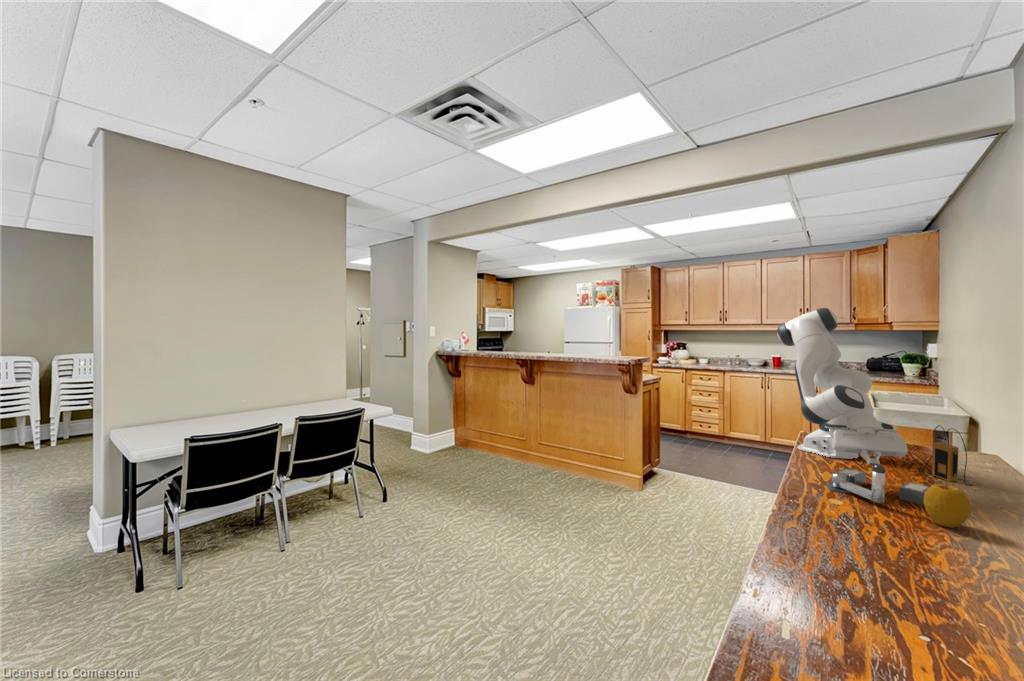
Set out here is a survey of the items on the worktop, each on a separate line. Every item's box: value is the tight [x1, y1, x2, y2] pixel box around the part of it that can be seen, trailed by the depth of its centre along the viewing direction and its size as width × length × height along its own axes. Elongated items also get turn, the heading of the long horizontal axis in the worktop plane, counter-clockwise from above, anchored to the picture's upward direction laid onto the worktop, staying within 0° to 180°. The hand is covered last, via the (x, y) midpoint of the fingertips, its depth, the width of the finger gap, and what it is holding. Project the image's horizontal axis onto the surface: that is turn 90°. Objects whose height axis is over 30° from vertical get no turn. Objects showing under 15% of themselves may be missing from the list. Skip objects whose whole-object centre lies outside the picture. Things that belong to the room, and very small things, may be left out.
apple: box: [923, 483, 973, 529], centre depth 124 cm, size 10×10×12 cm
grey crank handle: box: [831, 464, 887, 504], centre depth 144 cm, size 18×4×12 cm, turn 8°
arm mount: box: [825, 482, 853, 495], centre depth 151 cm, size 6×6×1 cm
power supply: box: [898, 481, 932, 506], centre depth 143 cm, size 6×10×4 cm, turn 123°
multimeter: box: [923, 424, 975, 487], centre depth 162 cm, size 15×10×20 cm
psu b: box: [834, 467, 867, 487], centre depth 157 cm, size 6×10×4 cm, turn 123°
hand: (873, 464), depth 144 cm, fingers closed
